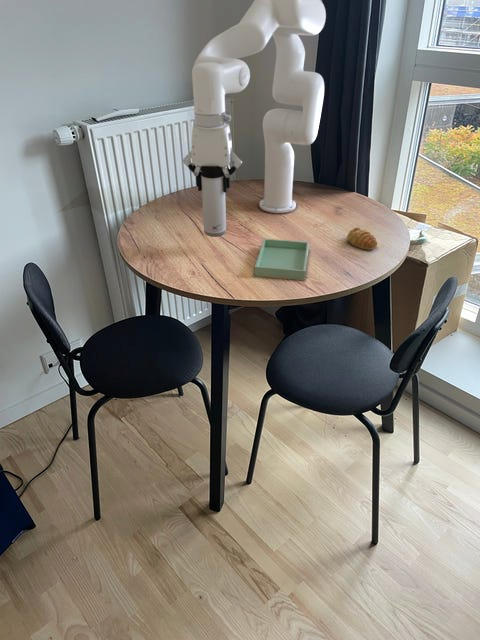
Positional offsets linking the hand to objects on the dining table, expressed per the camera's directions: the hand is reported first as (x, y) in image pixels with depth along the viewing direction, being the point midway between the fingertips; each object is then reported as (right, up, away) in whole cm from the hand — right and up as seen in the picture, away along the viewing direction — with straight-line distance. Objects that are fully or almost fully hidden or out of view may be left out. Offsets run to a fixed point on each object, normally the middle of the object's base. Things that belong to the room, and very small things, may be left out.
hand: (213, 189), depth 130 cm
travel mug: (0, -10, +8) cm, 13 cm away
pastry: (+43, -12, +15) cm, 48 cm away
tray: (+19, -19, +5) cm, 27 cm away
